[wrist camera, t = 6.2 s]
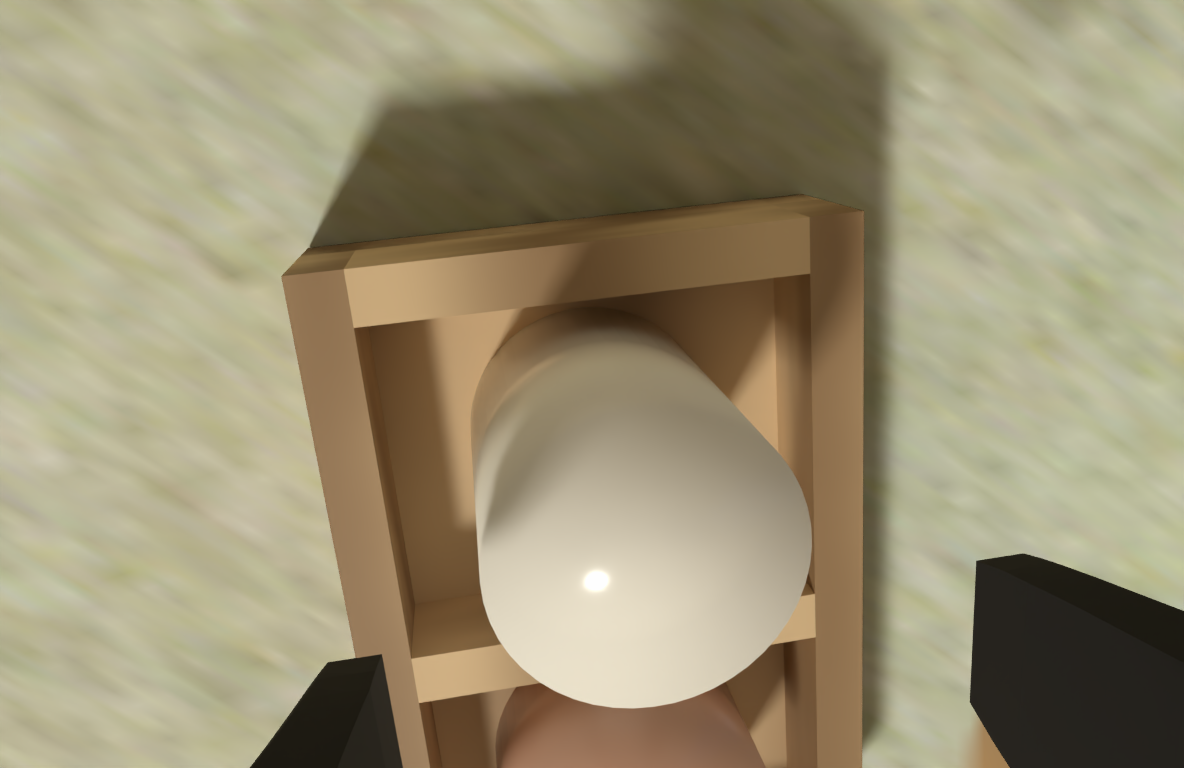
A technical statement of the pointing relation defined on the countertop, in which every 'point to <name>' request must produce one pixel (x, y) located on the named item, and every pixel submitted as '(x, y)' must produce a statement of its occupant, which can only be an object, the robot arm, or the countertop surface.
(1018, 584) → the robot arm
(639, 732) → the pinkish tan dome
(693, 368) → the cream cylinder
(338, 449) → the tray
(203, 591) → the countertop surface
